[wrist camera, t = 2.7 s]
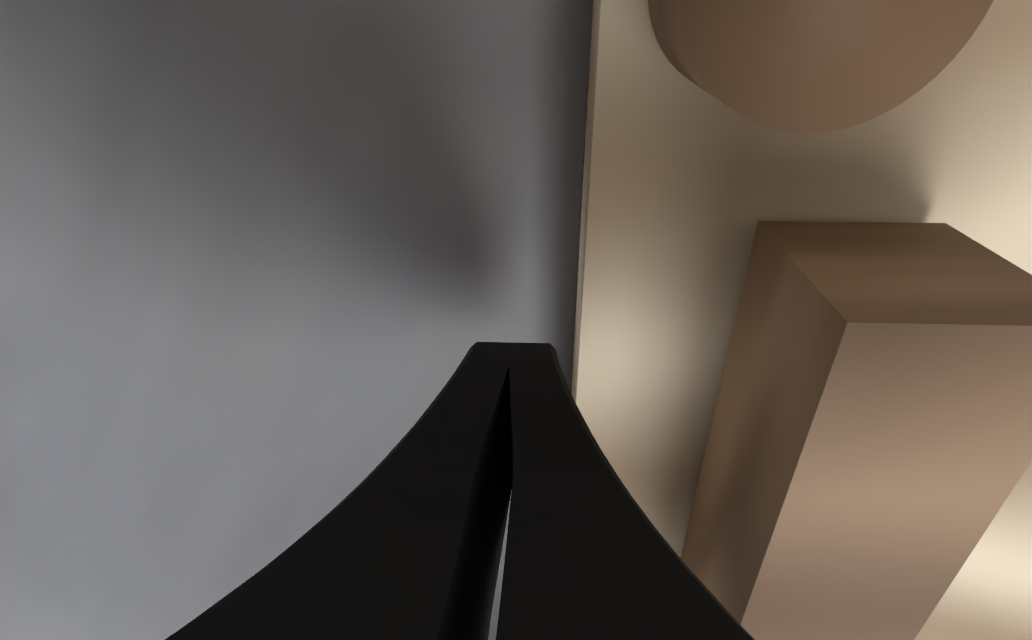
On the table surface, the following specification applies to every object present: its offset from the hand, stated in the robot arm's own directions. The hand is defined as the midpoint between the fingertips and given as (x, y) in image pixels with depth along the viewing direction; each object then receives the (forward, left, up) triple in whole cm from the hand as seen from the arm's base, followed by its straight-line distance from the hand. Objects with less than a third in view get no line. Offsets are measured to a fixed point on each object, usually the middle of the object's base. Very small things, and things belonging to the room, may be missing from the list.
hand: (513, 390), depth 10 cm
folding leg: (-3, -5, -1) cm, 6 cm away
